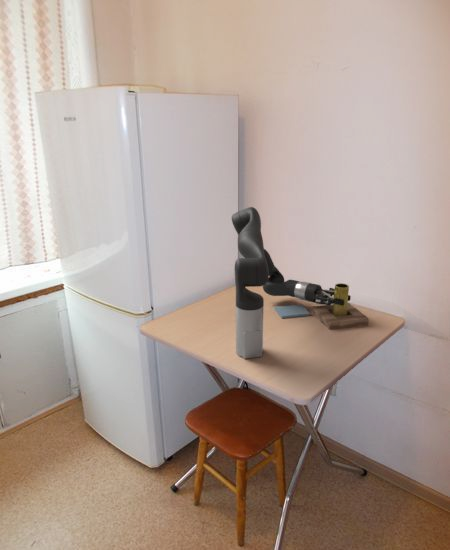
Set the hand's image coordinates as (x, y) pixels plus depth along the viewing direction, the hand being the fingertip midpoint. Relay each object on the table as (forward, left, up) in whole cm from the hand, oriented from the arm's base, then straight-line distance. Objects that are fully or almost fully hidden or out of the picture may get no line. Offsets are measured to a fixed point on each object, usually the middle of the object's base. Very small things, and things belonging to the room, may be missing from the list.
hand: (347, 300), depth 165 cm
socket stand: (+2, +2, -9) cm, 9 cm away
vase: (+2, +2, -9) cm, 9 cm away
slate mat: (+13, +18, -9) cm, 23 cm away
